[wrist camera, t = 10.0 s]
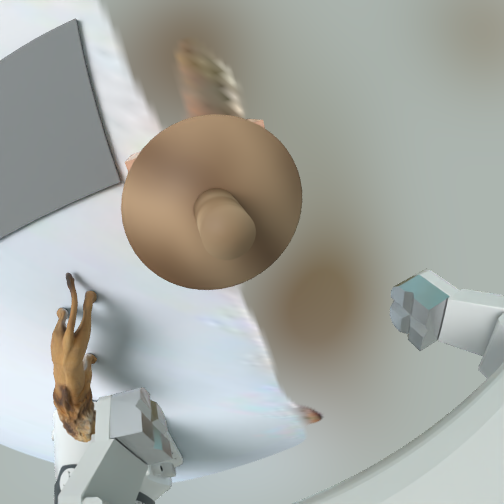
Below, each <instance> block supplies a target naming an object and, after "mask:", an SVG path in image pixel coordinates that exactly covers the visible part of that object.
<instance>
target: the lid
mask: <svg viewBox="0 0 504 504" xmlns="http://www.w3.org/2000/svg"><path fill="white" fill-rule="evenodd" d="M301 208H302V187H301V181H300V177H299V173H298V170H297V167H296V165H295V163H294V161H293V159H292V157H291V155H290V154H289V152H288V151H287V149H286V148H285V147H284V145H283V144H282V143H281V142H280V141H279V140H278V139H277V138H276V137H275V136H274V135H273V134H271V133H270V132H269V131H267V130H266V129H264V128H263V127H261V126H260V125H258V124H255V123H253V122H251V121H249V120H246V119H242V118H239V117H235V116H229V115H203V116H196V117H192V118H189V119H185V120H182V121H180V122H178V123H175V124H173V125H171V126H170V127H168V128H166V129H165V130H163V131H161V132H160V133H159V134H158V135H156V136H155V137H154V138H153V139H152V140H151V141H150V142H149V143H148V144H147V145H146V146H145V147H144V148H143V149H142V151H141V152H140V153H139V155H138V156H137V158H136V159H135V161H134V162H133V164H132V166H131V168H130V170H129V172H128V175H127V178H126V181H125V184H124V188H123V193H122V204H121V212H122V221H123V226H124V230H125V233H126V236H127V238H128V241H129V243H130V245H131V247H132V248H133V250H134V252H135V253H136V255H137V256H138V257H139V259H140V260H141V261H142V262H143V263H144V264H145V265H146V266H147V267H148V268H149V269H150V270H151V271H153V272H154V273H155V274H157V275H158V276H159V277H161V278H163V279H165V280H167V281H168V282H171V283H173V284H176V285H179V286H182V287H186V288H191V289H198V290H214V289H222V288H227V287H232V286H235V285H238V284H241V283H243V282H245V281H248V280H250V279H252V278H253V277H255V276H257V275H258V274H260V273H261V272H263V271H264V270H266V269H267V268H268V267H269V266H271V265H272V264H273V263H274V262H275V261H276V260H277V259H278V258H279V256H280V255H281V254H282V253H283V251H284V250H285V249H286V247H287V246H288V244H289V242H290V241H291V239H292V237H293V235H294V233H295V231H296V228H297V225H298V222H299V218H300V214H301Z"/></svg>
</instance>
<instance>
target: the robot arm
mask: <svg viewBox="0 0 504 504" xmlns="http://www.w3.org/2000/svg"><path fill="white" fill-rule="evenodd" d="M391 298H392V299H393V300H394V301H393V303H392V305H391V307H390V317H391V320H392V323H393V324H394V326H395V327H396V328H397V329H398V330H399V331H400V332H403V333H406V334H408V340H409V341H410V342H411V343H412V344H413V345H414V346H415V347H416V348H417V349H418V350H419V351H421V350H423V349H424V348H426V347H428V346H429V345H431V344H432V343H434V342H435V341H437V340H438V341H440V342H443V343H446V344H448V345H451V346H454V347H457V348H460V349H463V350H466V351H469V352H472V353H475V354H478V355H481V356H483V358H482V360H481V362H480V364H479V371H480V372H481V373H482V374H483V375H484V376H485V377H486V378H487V380H486V381H485V382H484V383H483V384H482V385H481V386H479V387H478V388H477V389H476V390H475V391H474V392H473V393H472V394H471V395H470V396H469V397H467V398H466V399H465V400H464V401H463V402H462V403H461V404H460V405H458V406H457V407H456V408H455V409H453V410H452V411H451V412H450V413H449V414H447V415H446V416H445V417H444V418H442V419H441V420H440V421H438V422H437V423H436V424H435V425H433V426H432V427H431V428H429V429H428V430H427V431H425V432H424V433H422V434H421V435H420V436H418V437H417V438H415V439H414V440H412V441H411V442H409V443H408V444H407V445H405V446H403V447H402V448H401V449H399V450H397V451H396V452H394V453H393V454H391V455H389V456H388V457H386V458H384V459H383V460H381V461H379V462H378V463H376V464H374V465H373V466H371V467H369V468H367V469H365V470H363V471H362V472H360V473H358V474H356V475H354V476H352V477H350V478H348V479H346V480H344V481H342V482H340V483H338V484H336V485H334V486H332V487H330V488H327V489H325V490H323V491H321V492H319V493H316V494H314V495H311V496H309V497H307V498H304V499H302V500H299V501H297V502H294V503H291V504H504V295H500V294H494V293H487V292H482V291H476V290H470V289H464V288H462V289H461V290H459V289H458V288H456V287H455V286H454V285H452V284H451V283H449V282H448V281H446V280H445V279H443V278H441V277H440V276H439V275H437V274H436V273H434V272H433V271H431V270H429V269H425V270H423V271H421V272H419V273H417V274H416V275H414V276H412V277H410V278H408V279H407V280H405V281H403V282H401V283H399V284H398V285H396V286H394V287H393V288H392V290H391ZM93 402H94V401H93ZM94 410H96V424H95V434H92V435H91V441H88V442H81V441H78V440H75V439H74V438H73V437H72V436H71V435H69V434H68V433H67V431H66V429H64V428H63V423H62V422H61V421H60V419H59V415H58V413H57V409H56V410H55V411H54V413H53V424H54V429H53V430H52V440H53V441H54V462H55V476H56V479H57V482H56V484H55V490H54V492H55V493H54V502H55V504H155V502H154V501H155V500H157V499H158V498H159V497H160V496H161V495H162V494H164V493H165V492H166V491H168V490H169V489H170V487H171V486H172V479H171V477H175V476H176V470H175V468H176V467H178V466H180V465H181V464H183V457H182V455H181V454H180V452H179V450H178V448H177V446H176V445H175V443H174V441H173V439H172V437H171V435H170V433H169V432H168V428H167V422H166V419H165V416H164V413H163V411H162V410H161V408H160V406H159V405H158V404H157V402H154V401H151V400H150V394H149V393H148V391H147V390H146V389H145V388H142V387H141V388H137V389H133V390H129V391H125V392H121V393H116V394H113V395H109V396H104V397H100V398H99V399H98V401H97V402H94Z"/></svg>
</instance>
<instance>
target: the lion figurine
mask: <svg viewBox="0 0 504 504" xmlns="http://www.w3.org/2000/svg"><path fill="white" fill-rule="evenodd" d="M66 279H67V285H68V288H69V289H70V292H71V297H72V305H71V312H70V317H69V320H68V324H67V328H66V324H65V321H66V319H67V317H68V311H67V310H66V309H64V308H59V309H58V311H57V316H58V318H59V320H58V322H57V324H56V327H55V329H54V331H53V334H52V341H51V355H52V361H53V364H54V372H53V373H54V378H55V389H54V392H53V399H54V405H55V407H56V408H57V413H58V415H59V419H60V421H61V422H62V423H63V428H64V429H66V431H67V433H68V434H69V435H71V436H72V437H73V438H74V439H75V440H78V441H81V442H88V441H91V435H92V434H95V424H96V410H94V402H93V401H92V392H91V388H90V383H91V378H92V370H91V364H94V363H95V362H96V361H97V358H96V357H95V356H94V355H92V354H85V352H86V349H87V345H88V342H89V338H90V332H91V311H92V306H93V304H92V303H94V302H95V301H96V299H97V295H96V293H95V292H93V291H87V292H86V293H85V300H84V304H83V318H82V321H81V324H80V325H79V327H78V329H77V330H76V331H75V333H74V327H75V321H76V314H77V306H78V301H77V293H76V290H75V285H74V278H73V277H72V275H71V274H70V273H66ZM84 355H85V356H84Z"/></svg>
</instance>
